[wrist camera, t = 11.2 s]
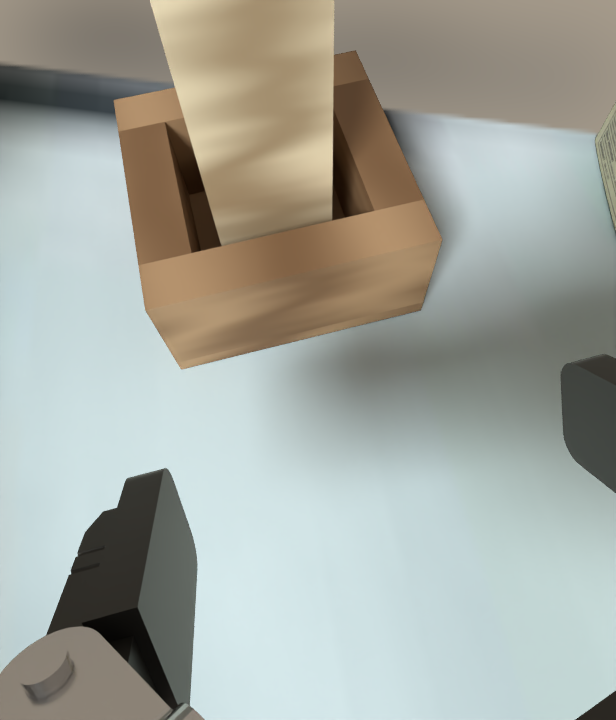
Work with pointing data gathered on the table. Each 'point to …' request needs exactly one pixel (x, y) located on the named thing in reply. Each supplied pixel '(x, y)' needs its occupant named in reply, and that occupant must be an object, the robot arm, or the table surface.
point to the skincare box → (608, 159)
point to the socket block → (275, 235)
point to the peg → (256, 107)
